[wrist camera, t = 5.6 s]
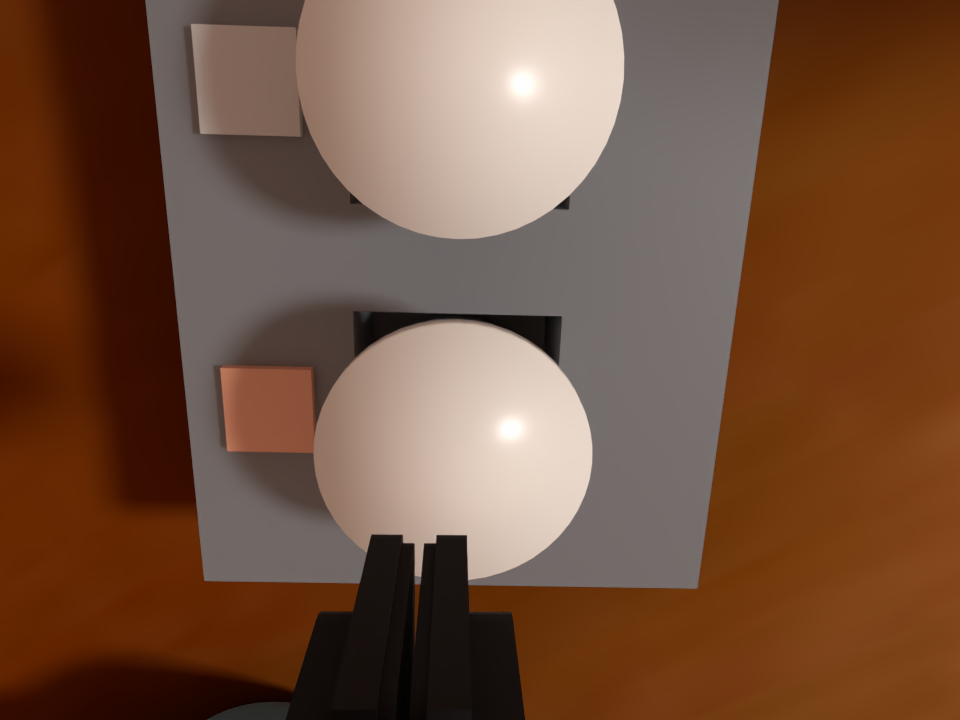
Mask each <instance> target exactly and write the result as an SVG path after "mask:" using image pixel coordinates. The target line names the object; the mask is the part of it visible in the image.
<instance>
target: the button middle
mask: <svg viewBox="0 0 960 720" xmlns="http://www.w3.org/2000/svg"><path fill="white" fill-rule="evenodd" d="M296 76H297V86H298V93H299V97H300V102H301V106H302V110H303V114H304V117H305V120H306V123H307V126H308V128H309V131H310V134H311V136H312V138H313V140H314V142H315V144H316V146H317V148H318V150H319V152H320V154H321V156H322V157H323V159H324V160H325V162H326V163H327V165H328V166H329V168H330V169H331V171H332V172H333V174H334V175H335V176H336V177H337V178H338V180H339V181H340V182H341V183H342V184H343V185H344V187H345V188H346V189H347V190H348V191H349V192H350V193H351V194H353V195H354V196H355V197H356V198H357V199H358V200H359V201H360V202H361V203H362V204H364V205H365V206H367V207H368V208H369V209H371V210H372V211H374V212H375V213H377V214H378V215H379V216H381V217H383V218H385V219H387V220H389V221H390V222H392V223H394V224H396V225H398V226H401V227H403V228H406V229H409V230H411V231H414V232H417V233H421V234H425V235H429V236H434V237H439V238H450V239H476V238H483V237H489V236H494V235H499V234H502V233H505V232H509V231H512V230H515V229H518V228H520V227H522V226H524V225H526V224H528V223H531V222H533V221H535V220H537V219H538V218H540V217H541V216H543V215H544V214H546V213H548V212H549V211H551V210H552V209H554V208H555V207H556V206H557V205H558V204H560V203H561V202H562V201H563V200H564V199H566V198H567V197H568V196H569V195H570V194H571V193H572V192H573V191H574V190H575V189H576V188H577V187H578V186H579V184H580V183H581V182H582V181H583V180H584V179H585V177H586V176H587V175H588V173H589V172H590V170H591V169H592V168H593V166H594V165H595V164H596V162H597V160H598V158H599V156H600V155H601V153H602V151H603V149H604V147H605V146H606V144H607V141H608V139H609V136H610V134H611V131H612V129H613V126H614V124H615V120H616V117H617V113H618V109H619V105H620V102H621V95H622V88H623V81H624V48H623V38H622V30H621V26H620V21H619V17H618V13H617V9H616V6H615V3H614V0H305V2H304V6H303V10H302V13H301V17H300V21H299V27H298V34H297V41H296Z"/></svg>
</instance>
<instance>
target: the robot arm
mask: <svg viewBox="0 0 960 720" xmlns="http://www.w3.org/2000/svg"><path fill="white" fill-rule="evenodd" d="M285 720H525V715H524V707H523V699H522V691H521V683H520V675H519V667H518V658H517V650H516V642H515V634H514V626H513V619H512V614H511V612H469V592H468V555H467V535H436V543H424V549H423V561H422V572H421V584H420V595H419V607H418V618H417V630H416V641H415V544H414V543H403V535H387V534H372V535H371V538H370V542H369V546H368V550H367V555H366V559H365V563H364V567H363V572H362V576H361V580H360V585H359V589H358V593H357V597H356V602H355V606H354V610H353V612H320V613H319V614H318V617H317V619H316V622H315V626H314V629H313V632H312V635H311V639H310V642H309V645H308V648H307V651H306V655H305V658H304V661H303V664H302V668H301V671H300V674H299V677H298V680H297V684H296V687H295V690H294V693H293V697H292V700H291V703H290V706H289V709H288V713H287V716H286V719H285Z"/></svg>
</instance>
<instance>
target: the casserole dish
mask: <svg viewBox="0 0 960 720" xmlns="http://www.w3.org/2000/svg"><path fill="white" fill-rule="evenodd" d="M289 706H290V703H288V702H260V703H252V704H247V705H242V706H238V707H235V708H231V709H228V710H226V711H224V712H221V713H219V714H217V715H215V716H213V717H211V718H209V719H207V720H285V719H286V716H287V713H288V709H289Z"/></svg>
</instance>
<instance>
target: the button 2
mask: <svg viewBox="0 0 960 720" xmlns="http://www.w3.org/2000/svg"><path fill="white" fill-rule="evenodd" d="M314 466H315V474H316V478H317V482H318V486H319V489H320V492H321V494H322V497H323V499H324V502H325V504H326V506H327V508H328V510H329V511H330V513H331V515H332V516H333V518H334V520H335V521H336V522H337V524H338V525H339V526H340V528H341V529H342V530H343V531H344V533H345V534H346V535H347V536H348V537H349V538H350V539H351V540H352V541H353V542H354V543H355V544H356V545H357V546H359V547H360V548H361V549H363V550H364V551H365V552H366V553H367V550H368V546H369V542H370V538H371V535H372V534H387V535H403V543H414V544H415V576H418V577H421V572H422V561H423V549H424V543H436V535H467V555H468V580H472V579H478V578H484V577H488V576H492V575H496V574H499V573H503V572H505V571H508V570H510V569H512V568H515V567H517V566H519V565H521V564H523V563H525V562H527V561H528V560H530V559H532V558H534V557H535V556H536V555H538V554H539V553H540V552H542V551H543V550H545V549H546V548H547V547H548V546H549V545H550V544H551V543H553V542H554V541H555V540H556V539H557V538H558V537H559V536H560V535H561V533H562V532H563V531H564V530H565V529H566V527H567V526H568V525H569V524H570V522H571V520H572V519H573V517H574V516H575V514H576V513H577V511H578V509H579V507H580V505H581V503H582V500H583V498H584V496H585V493H586V490H587V487H588V483H589V480H590V474H591V467H592V439H591V432H590V427H589V423H588V420H587V416H586V413H585V411H584V408H583V406H582V404H581V402H580V399H579V397H578V395H577V393H576V390H575V388H574V387H573V385H572V384H571V382H570V380H569V379H568V377H567V376H566V374H565V373H564V372H563V371H562V369H561V368H560V367H559V366H558V365H557V363H556V362H555V361H554V360H553V359H552V358H551V357H550V356H548V355H547V354H546V353H545V352H544V351H543V350H542V349H541V348H539V347H538V346H536V345H535V344H533V343H532V342H530V341H529V340H528V339H526V338H524V337H522V336H520V335H518V334H516V333H514V332H512V331H510V330H507V329H505V328H502V327H499V326H496V325H494V324H492V323H490V322H488V321H485V320H482V319H479V318H475V317H470V316H461V315H454V316H444V317H438V318H435V319H432V320H428V321H426V322H420V323H417V324H413V325H410V326H407V327H404V328H401V329H399V330H396V331H394V332H392V333H390V334H388V335H385V336H384V337H382V338H381V339H379V340H377V341H376V342H374V343H373V344H371V345H369V346H368V347H367V348H366V349H365V350H363V351H362V352H361V353H360V354H359V355H357V356H356V357H355V358H354V360H353V361H352V362H351V363H350V364H349V365H348V366H347V367H346V368H345V369H344V371H343V372H342V374H341V375H340V377H339V378H338V380H337V381H336V383H335V384H334V386H333V387H332V389H331V391H330V392H329V394H328V396H327V399H326V401H325V403H324V405H323V407H322V409H321V412H320V415H319V419H318V422H317V426H316V431H315V437H314Z"/></svg>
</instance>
